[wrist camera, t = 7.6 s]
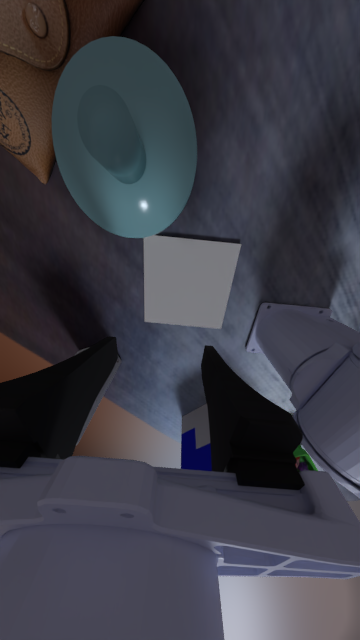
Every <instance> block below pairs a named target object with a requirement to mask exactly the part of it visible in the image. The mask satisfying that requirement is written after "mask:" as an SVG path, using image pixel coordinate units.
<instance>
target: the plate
mask: <svg viewBox="0 0 360 640" xmlns="http://www.w3.org/2000/svg"><path fill="white" fill-rule="evenodd" d="M240 247H241V244H235V243H225V242H215V241H205V240H195V239H185V238H176V237H166V236H156V235H153V236H150V237H145V238H144V307H145V322H153V323H163V324H174V325H185V326H195V327H206V328H217V329H221V327H222V323H223V318H224V314H225V310H226V306H227V302H228V298H229V293H230V289H231V285H232V281H233V277H234V273H235V268H236V264H237V260H238V256H239V252H240Z"/></svg>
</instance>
